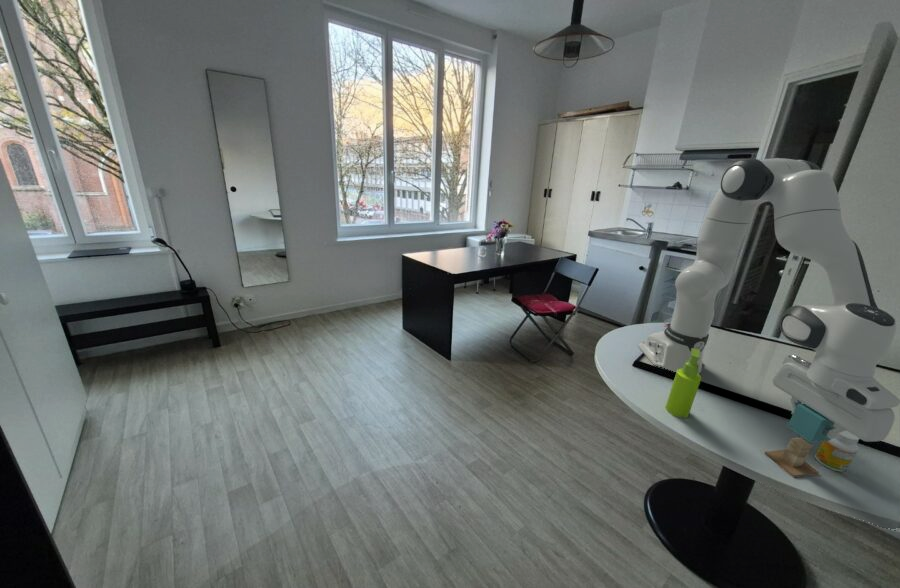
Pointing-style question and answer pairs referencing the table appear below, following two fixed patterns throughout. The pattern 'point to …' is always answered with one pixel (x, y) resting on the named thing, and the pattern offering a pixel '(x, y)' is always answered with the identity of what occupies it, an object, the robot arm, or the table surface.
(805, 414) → the teal rectangular block
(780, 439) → the table surface
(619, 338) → the table surface
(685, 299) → the robot arm
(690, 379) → the soap dispenser
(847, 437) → the supplement bottle
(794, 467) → the wooden block stand
